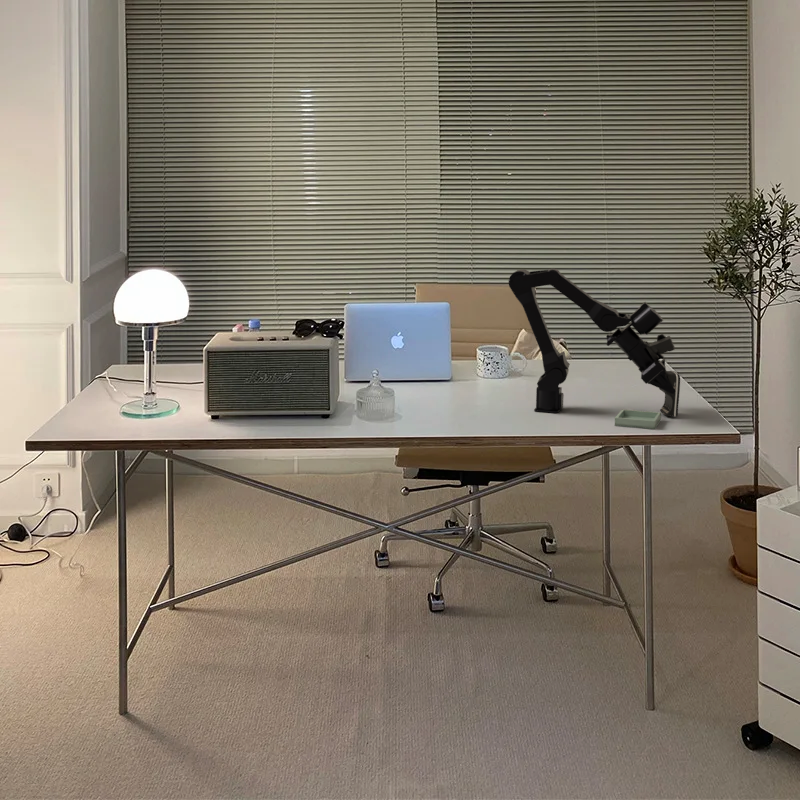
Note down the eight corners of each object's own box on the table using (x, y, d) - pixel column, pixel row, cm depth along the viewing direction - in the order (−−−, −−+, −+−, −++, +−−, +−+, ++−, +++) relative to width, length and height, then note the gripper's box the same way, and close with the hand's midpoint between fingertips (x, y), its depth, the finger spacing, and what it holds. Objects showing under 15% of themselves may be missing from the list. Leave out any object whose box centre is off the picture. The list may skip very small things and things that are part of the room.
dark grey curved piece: (656, 411, 280) (658, 369, 277) (670, 411, 280) (672, 369, 277) (663, 417, 273) (666, 374, 270) (678, 417, 273) (681, 374, 271)
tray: (614, 425, 266) (614, 417, 266) (621, 417, 275) (622, 409, 275) (654, 429, 263) (654, 421, 262) (660, 420, 272) (661, 412, 271)
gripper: (657, 331, 263) (699, 376, 263) (657, 320, 281) (696, 363, 281) (623, 360, 267) (665, 405, 267) (625, 348, 285) (664, 390, 285)
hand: (674, 389), depth 275 cm, fingers closed on dark grey curved piece, 7 cm apart
